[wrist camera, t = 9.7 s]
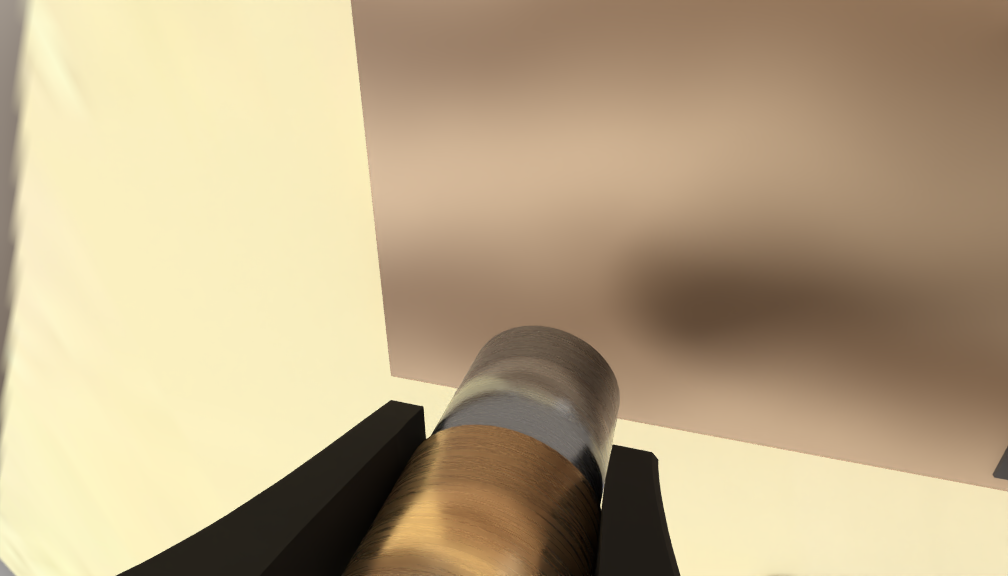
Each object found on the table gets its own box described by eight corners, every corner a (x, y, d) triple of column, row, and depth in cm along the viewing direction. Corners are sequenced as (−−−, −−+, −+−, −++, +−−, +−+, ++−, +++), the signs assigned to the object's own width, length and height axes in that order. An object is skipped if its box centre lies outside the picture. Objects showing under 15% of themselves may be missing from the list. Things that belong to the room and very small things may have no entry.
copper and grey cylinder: (614, 467, 13) (532, 923, 7) (467, 433, 13) (276, 816, 7) (636, 337, 11) (554, 783, 5) (468, 307, 12) (224, 665, 6)
